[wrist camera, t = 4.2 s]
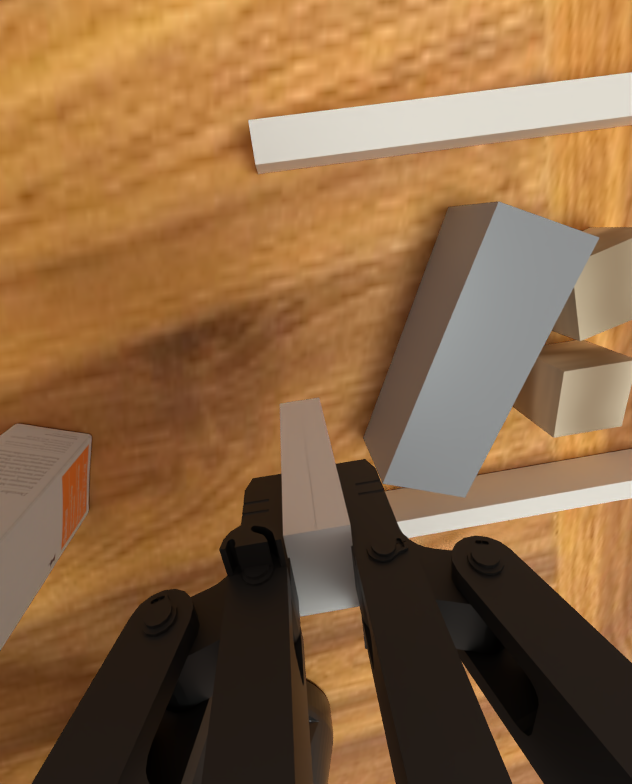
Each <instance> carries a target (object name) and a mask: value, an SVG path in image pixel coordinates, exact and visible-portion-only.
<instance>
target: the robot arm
mask: <svg viewBox="0 0 632 784" xmlns="http://www.w3.org/2000/svg"><path fill="white" fill-rule="evenodd" d="M280 432H281V473H282V474H277V475H271V476H265V477H259V478H253V479H252V480H251V482H250V484H249V485H248V487H247V488H246V490H245V495H244V506H243V513H242V514H243V516H242V522H241V526H239V527H237V528H236V529H234V530H233V531H231V532H230V533H229V534H228V535H227V536H226V538H225V539H224V540H223V542H222V544H221V547H220V549H219V550H220V553H221V556H222V560H223V563H224V566H225V569H226V572H227V577H226V578H224V579H223V580H222V581H221V582H220V583H218V584H216V585H215V586H213V587H211V588H209V589H207V590H205V591H203V592H201V593H199V594H197V595H195V596H192V597H190V596H189V595H188V594H187V593H186V592H185V591H181V590H177V589H171V590H164V591H161V592H159V593H157V594H155V595H153V596H151V597H149V598H148V599H147V600H146V601H144V602H143V603H142V604H141V605H139V607H138V608H137V609H136V611H135V612H134V613H133V614H132V616H131V617H130V619H129V620H128V622H127V624H126V625H125V627H124V629H123V631H122V632H121V634H120V636H119V637H118V639H117V641H116V642H115V644H114V646H113V647H112V649H111V651H110V652H109V654H108V656H107V658H106V659H105V661H104V663H103V664H102V666H101V668H100V669H99V671H98V673H97V674H96V676H95V678H94V679H93V681H92V683H91V684H90V686H89V688H88V690H87V691H86V693H85V695H84V696H83V698H82V700H81V701H80V703H79V705H78V706H77V708H76V710H75V711H74V713H73V715H72V717H71V718H70V720H69V722H68V723H67V725H66V727H65V728H64V730H63V732H62V733H61V735H60V737H59V738H58V740H57V742H56V744H55V745H54V747H53V749H52V750H51V752H50V754H49V755H48V757H47V759H46V760H45V762H44V764H43V765H42V767H41V769H40V771H39V772H38V774H37V776H36V777H35V779H34V781H33V782H32V784H328V777H329V769H330V762H331V754H332V746H333V728H332V719H331V711H330V705H329V702H328V700H327V698H326V696H325V695H324V694H323V692H322V691H321V690H320V689H318V688H317V687H316V686H315V685H313V684H311V683H310V682H308V681H306V672H305V657H304V643H303V636H302V632H301V627H300V616H307V615H312V614H318V613H324V612H329V611H335V610H341V609H346V608H352V607H358V606H360V610H361V614H362V623H363V632H364V641H365V649H367V650H368V654H369V659H370V664H371V669H372V673H373V678H374V683H375V687H376V692H377V697H378V702H379V706H380V711H381V716H382V721H383V725H384V730H385V735H386V739H387V744H388V749H389V754H390V758H391V763H392V768H393V773H394V777H395V782H396V784H512V782H511V779H510V777H509V774H508V772H507V770H506V767H505V765H504V762H503V760H502V758H501V755H500V753H499V750H498V748H497V746H496V743H495V741H494V739H493V736H492V734H491V731H490V729H489V727H488V724H487V722H486V719H485V717H484V715H483V712H482V710H481V707H480V705H479V703H478V700H477V698H476V695H475V693H474V691H473V688H472V686H471V683H470V681H469V679H468V676H467V674H466V671H465V669H464V667H463V664H464V665H465V667H466V668H467V670H468V671H469V673H470V674H471V676H472V677H473V679H474V680H475V682H476V683H477V685H478V686H479V688H480V689H481V691H482V692H483V694H484V695H485V697H486V698H487V700H488V701H489V703H490V704H491V706H492V707H493V709H494V710H495V712H496V713H497V714H498V716H499V717H500V719H501V720H502V722H503V723H504V725H505V726H506V728H507V729H508V731H509V732H510V734H511V735H512V737H513V738H514V740H515V741H516V743H517V744H518V746H519V747H520V749H521V750H522V752H523V753H524V755H525V756H526V758H527V759H528V761H529V762H530V764H531V765H532V767H533V768H534V770H535V771H536V773H537V774H538V776H539V777H540V778H541V780H542V781H543V783H544V784H632V663H631V662H630V661H629V660H628V659H627V658H626V657H625V656H624V655H623V654H621V653H620V652H619V651H618V650H617V649H616V648H615V647H614V646H613V645H612V644H611V643H610V642H609V641H608V640H607V639H606V638H604V637H603V636H602V635H601V634H600V633H599V632H598V631H597V630H596V629H595V628H594V627H593V626H592V625H591V624H590V623H588V622H587V621H586V620H585V619H584V618H583V617H582V616H581V615H580V614H579V613H578V612H577V611H576V610H575V609H574V608H573V607H571V606H570V605H569V604H568V603H567V602H566V601H565V600H564V599H563V598H562V597H561V596H560V595H559V594H558V593H557V592H556V591H554V590H553V589H552V588H551V587H550V586H549V585H548V584H547V583H546V582H545V581H544V580H543V579H542V578H541V577H540V576H538V575H537V574H536V573H535V572H534V571H533V570H532V569H531V568H530V567H529V566H528V565H527V564H526V563H525V562H524V561H523V560H521V559H520V558H519V557H518V556H517V555H516V554H515V553H514V552H513V551H512V550H511V549H510V548H508V547H507V546H505V545H504V544H502V543H501V542H499V541H497V540H494V539H491V538H489V537H482V536H471V537H467V538H463V539H462V540H460V541H459V542H457V543H456V544H455V546H454V548H453V550H452V551H451V550H441V549H433V548H428V547H423V546H421V545H418V544H416V543H414V542H412V541H411V540H409V539H408V537H407V536H405V535H404V534H403V533H402V531H401V530H400V528H399V526H398V523H397V521H396V518H395V516H394V513H393V511H392V508H391V506H390V503H389V501H388V498H387V496H386V493H385V491H384V488H383V486H382V483H381V482H380V478H379V476H378V473H377V471H376V468H375V467H374V466H372V465H371V464H370V463H369V462H368V461H366V460H365V459H363V460H357V461H351V462H344V463H338V464H335V460H334V456H333V452H332V448H331V444H330V440H329V436H328V431H327V427H326V423H325V419H324V415H323V411H322V407H321V403H320V399H319V398H313V399H306V400H300V401H294V402H287V403H281V404H280ZM299 612H300V613H299ZM460 659H461V660H460ZM461 661H462V662H463V664H462V662H461Z"/></svg>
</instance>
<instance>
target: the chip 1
mask: <svg viewBox="0 0 632 784" xmlns="http://www.w3.org/2000/svg"><path fill="white" fill-rule="evenodd" d="M583 232H585V233H588V234H591V235H594V236H597V237H599V240H598V242H597V244H596V245H595V247H594V249H593V251H592V253H591V255H590V257H589V259H588V261H587V263H586V265H585V267H584V269H583V271H582V273H581V274H580V276H579V278H578V280H577V282H576V284H575V286H574V288H573V290H572V292H571V294H570V296H569V298H568V300H567V302H566V304H565V305H564V307H563V309H562V311H561V313H560V315H559V317H558V319H557V321H556V323H555V325H554V327H553V329H552V331H554V332H557V333H559V334H562V335H565V336H568V337H570V338H573V339H576V340H578V341H582V340H584V339H587V338H589V337H592V336H594V335H596V334H599V333H601V332H604V331H606V330H608V329H611V328H613V327H616V326H618V325H620V324H623V323H625V322H628V321H630V320H632V227H590V228H588V229H585V230H583Z"/></svg>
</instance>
